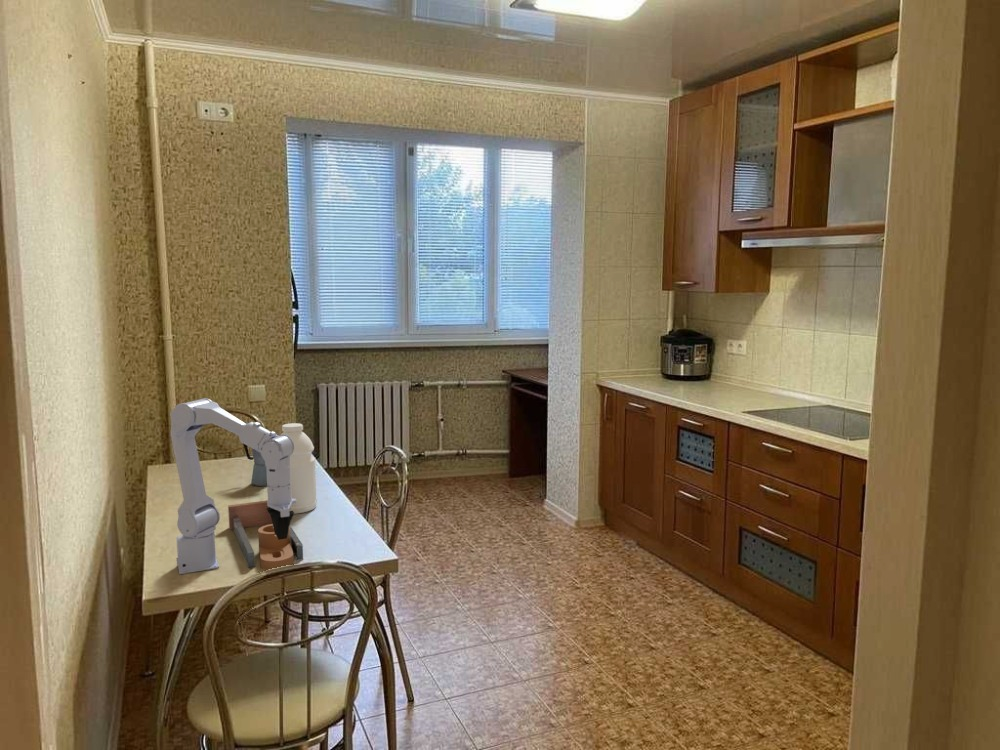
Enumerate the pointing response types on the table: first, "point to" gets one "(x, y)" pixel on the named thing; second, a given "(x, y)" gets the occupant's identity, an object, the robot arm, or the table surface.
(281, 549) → the bracket
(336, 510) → the table surface
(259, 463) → the moka pot
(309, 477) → the bottle
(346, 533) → the table surface
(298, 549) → the receiver
